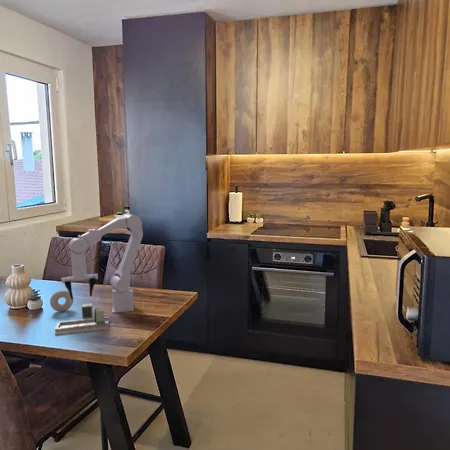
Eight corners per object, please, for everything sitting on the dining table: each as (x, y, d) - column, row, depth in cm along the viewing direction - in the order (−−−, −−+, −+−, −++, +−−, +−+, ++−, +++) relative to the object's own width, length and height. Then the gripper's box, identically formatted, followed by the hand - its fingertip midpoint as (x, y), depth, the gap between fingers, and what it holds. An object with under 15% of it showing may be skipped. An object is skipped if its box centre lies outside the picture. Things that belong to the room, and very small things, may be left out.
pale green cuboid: (83, 317, 174) (82, 304, 173) (93, 316, 175) (92, 303, 174) (82, 320, 171) (81, 307, 170) (92, 319, 172) (91, 306, 171)
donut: (51, 314, 178) (49, 293, 176) (50, 312, 181) (48, 291, 179) (74, 310, 183) (73, 289, 181) (73, 308, 186) (71, 287, 184)
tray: (109, 320, 170) (107, 304, 169) (108, 329, 161) (106, 312, 160) (58, 325, 165) (57, 309, 164) (55, 334, 157) (53, 317, 156)
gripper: (95, 262, 177) (98, 291, 179) (60, 266, 171) (63, 296, 173) (97, 265, 170) (99, 296, 172) (60, 270, 165) (63, 301, 167)
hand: (81, 296), depth 172 cm, fingers open, 7 cm apart
